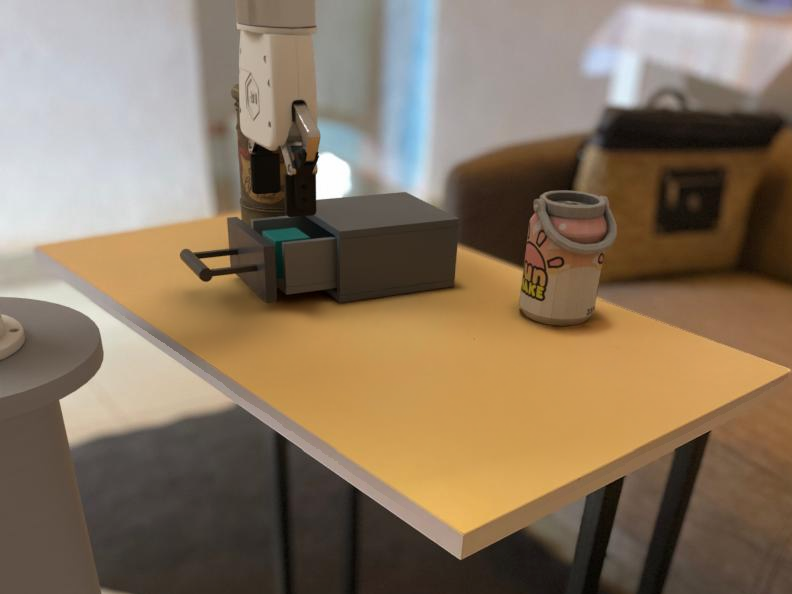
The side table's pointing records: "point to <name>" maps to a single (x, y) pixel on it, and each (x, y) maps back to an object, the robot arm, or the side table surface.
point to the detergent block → (277, 238)
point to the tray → (273, 257)
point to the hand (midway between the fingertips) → (283, 203)
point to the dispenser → (389, 245)
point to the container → (250, 202)
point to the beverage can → (565, 256)
